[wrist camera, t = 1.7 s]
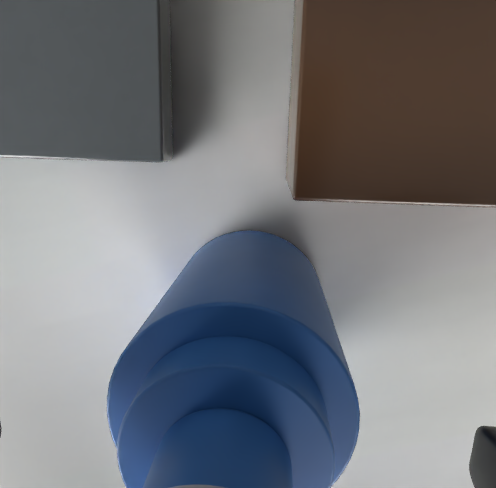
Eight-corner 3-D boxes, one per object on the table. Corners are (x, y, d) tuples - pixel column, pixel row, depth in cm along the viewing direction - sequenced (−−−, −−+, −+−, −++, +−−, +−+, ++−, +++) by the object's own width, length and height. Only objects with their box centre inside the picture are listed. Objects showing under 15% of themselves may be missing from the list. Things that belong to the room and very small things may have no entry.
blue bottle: (316, 367, 14) (402, 817, 4) (180, 359, 14) (2, 768, 5) (327, 232, 12) (473, 474, 3) (178, 227, 13) (-68, 435, 4)
